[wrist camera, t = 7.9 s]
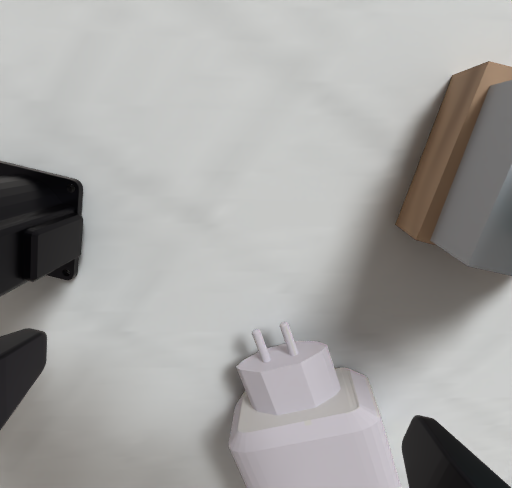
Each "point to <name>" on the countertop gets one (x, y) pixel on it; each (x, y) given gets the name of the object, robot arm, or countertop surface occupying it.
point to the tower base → (447, 147)
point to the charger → (307, 421)
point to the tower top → (482, 191)
